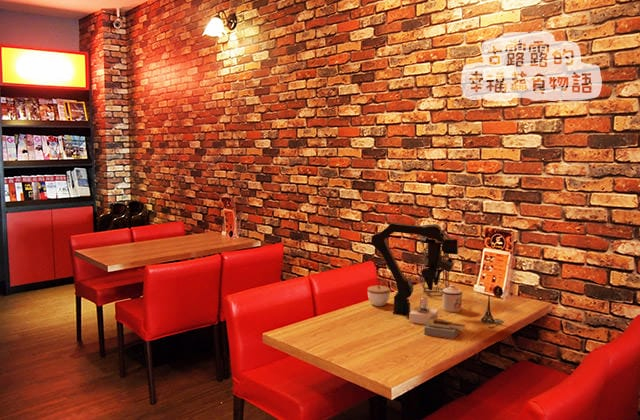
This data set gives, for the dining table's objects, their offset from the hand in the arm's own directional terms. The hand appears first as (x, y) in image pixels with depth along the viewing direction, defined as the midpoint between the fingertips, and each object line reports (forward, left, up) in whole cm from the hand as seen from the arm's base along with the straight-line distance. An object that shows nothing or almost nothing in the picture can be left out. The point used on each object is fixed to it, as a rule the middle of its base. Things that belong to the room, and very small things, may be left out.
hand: (433, 287), depth 241 cm
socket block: (+9, -20, -13) cm, 25 cm away
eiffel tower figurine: (+24, +2, -14) cm, 28 cm away
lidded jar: (-28, +6, -13) cm, 32 cm away
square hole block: (-2, -8, -13) cm, 15 cm away
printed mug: (+6, +14, -13) cm, 20 cm away
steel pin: (-2, -8, -13) cm, 15 cm away
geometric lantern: (-8, +34, -13) cm, 37 cm away
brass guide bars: (+11, -20, -10) cm, 25 cm away
